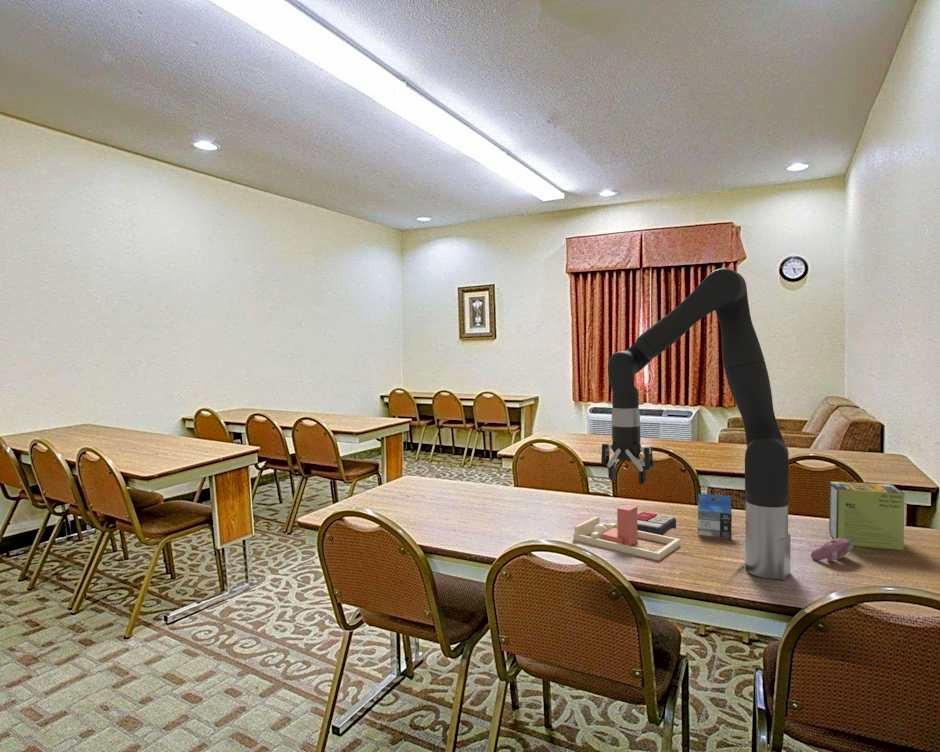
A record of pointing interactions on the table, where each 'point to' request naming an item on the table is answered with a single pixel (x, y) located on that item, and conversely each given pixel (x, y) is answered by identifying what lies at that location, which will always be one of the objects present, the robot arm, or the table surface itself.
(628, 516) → the block
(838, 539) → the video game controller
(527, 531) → the table surface
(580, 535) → the pitch
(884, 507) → the protein box
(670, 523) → the calculator
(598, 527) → the ball
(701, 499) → the label tape cartridge
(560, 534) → the table surface
